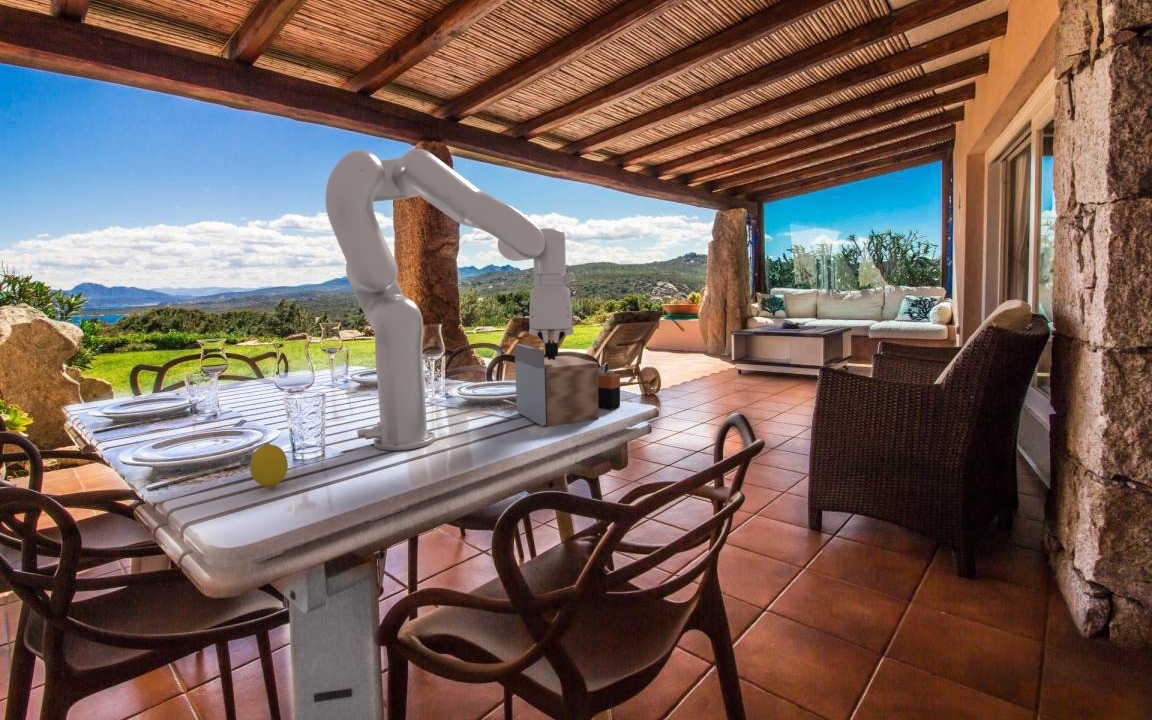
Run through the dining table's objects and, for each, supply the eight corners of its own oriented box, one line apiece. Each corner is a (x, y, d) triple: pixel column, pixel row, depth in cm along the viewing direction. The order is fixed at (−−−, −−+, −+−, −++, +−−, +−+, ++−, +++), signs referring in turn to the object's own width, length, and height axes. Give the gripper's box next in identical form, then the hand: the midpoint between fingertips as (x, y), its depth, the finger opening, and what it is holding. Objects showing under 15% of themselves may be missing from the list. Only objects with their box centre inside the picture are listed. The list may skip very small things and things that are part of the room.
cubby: (547, 426, 130) (545, 368, 128) (521, 412, 144) (520, 359, 142) (598, 418, 136) (597, 362, 134) (569, 406, 150) (568, 355, 148)
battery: (611, 410, 145) (611, 372, 143) (591, 406, 149) (590, 370, 148) (620, 407, 148) (620, 370, 147) (600, 403, 152) (600, 368, 151)
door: (541, 425, 129) (539, 350, 127) (516, 411, 143) (514, 344, 140) (546, 424, 130) (544, 350, 127) (521, 411, 144) (518, 343, 141)
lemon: (250, 497, 90) (245, 450, 89) (255, 485, 95) (250, 441, 94) (288, 491, 92) (284, 445, 91) (290, 480, 97) (286, 436, 96)
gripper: (582, 281, 133) (583, 356, 136) (521, 282, 134) (523, 357, 137) (581, 281, 126) (582, 361, 129) (516, 282, 127) (518, 361, 129)
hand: (551, 358), depth 133 cm, fingers closed
